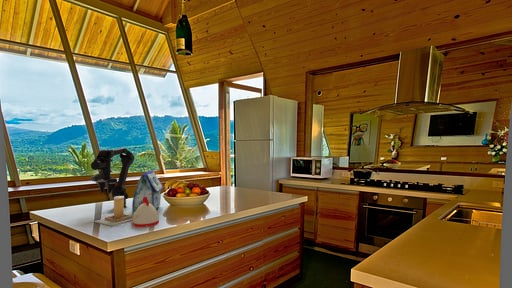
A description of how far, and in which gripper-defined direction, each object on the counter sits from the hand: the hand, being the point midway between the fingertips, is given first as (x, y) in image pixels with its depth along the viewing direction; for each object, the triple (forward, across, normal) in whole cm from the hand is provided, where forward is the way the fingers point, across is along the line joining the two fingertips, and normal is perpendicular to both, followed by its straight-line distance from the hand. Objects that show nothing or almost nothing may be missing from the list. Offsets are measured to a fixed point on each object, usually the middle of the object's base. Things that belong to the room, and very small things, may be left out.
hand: (105, 193), depth 183 cm
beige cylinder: (+13, +21, -2) cm, 25 cm away
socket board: (+13, +21, -2) cm, 25 cm away
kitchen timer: (+14, +41, +3) cm, 43 cm away
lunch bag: (+13, +14, +22) cm, 29 cm away
